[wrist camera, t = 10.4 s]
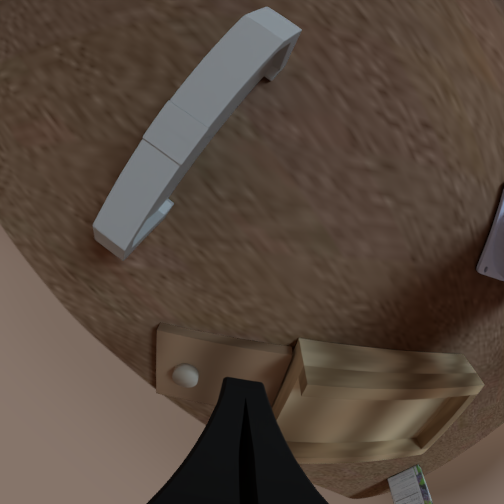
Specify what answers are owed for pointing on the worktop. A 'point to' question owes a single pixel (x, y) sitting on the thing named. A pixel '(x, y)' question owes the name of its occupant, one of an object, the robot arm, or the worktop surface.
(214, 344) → the lid plate
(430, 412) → the oak box
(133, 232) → the arched grey pull
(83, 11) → the worktop surface
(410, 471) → the syrup box
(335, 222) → the worktop surface
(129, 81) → the worktop surface
